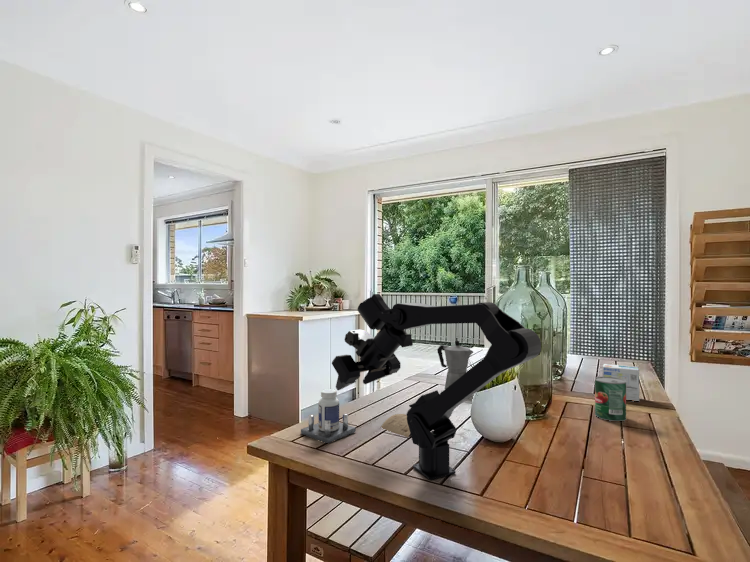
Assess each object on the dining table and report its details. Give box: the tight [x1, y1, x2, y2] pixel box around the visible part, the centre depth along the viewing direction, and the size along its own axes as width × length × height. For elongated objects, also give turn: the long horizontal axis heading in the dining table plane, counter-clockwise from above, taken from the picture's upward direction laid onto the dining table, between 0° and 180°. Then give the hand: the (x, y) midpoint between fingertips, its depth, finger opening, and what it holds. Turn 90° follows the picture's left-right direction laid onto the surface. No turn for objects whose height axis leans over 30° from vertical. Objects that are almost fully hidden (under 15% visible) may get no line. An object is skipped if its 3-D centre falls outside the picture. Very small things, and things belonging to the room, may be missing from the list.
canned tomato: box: [594, 376, 627, 422], centre depth 117 cm, size 8×8×11 cm
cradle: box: [300, 413, 357, 444], centre depth 104 cm, size 10×10×5 cm
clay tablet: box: [380, 413, 411, 438], centre depth 110 cm, size 14×10×3 cm
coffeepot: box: [436, 340, 474, 390], centre depth 148 cm, size 15×9×18 cm, turn 44°
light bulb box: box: [602, 363, 641, 402], centre depth 137 cm, size 11×7×11 cm, turn 58°
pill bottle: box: [317, 388, 340, 432], centre depth 104 cm, size 5×5×10 cm
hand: (350, 385), depth 100 cm, fingers open, 9 cm apart
